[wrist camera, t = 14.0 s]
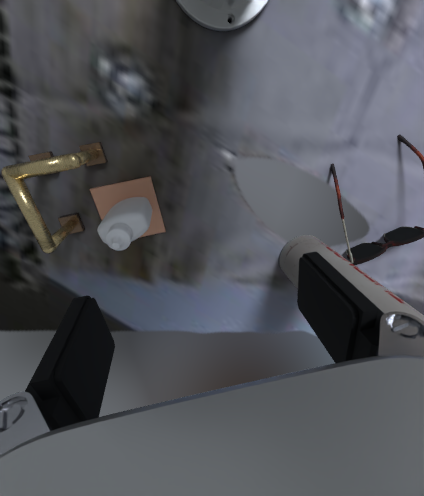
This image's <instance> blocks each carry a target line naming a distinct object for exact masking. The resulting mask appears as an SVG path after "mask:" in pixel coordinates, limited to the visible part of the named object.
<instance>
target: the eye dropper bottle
mask: <svg viewBox="0 0 424 496" xmlns="http://www.w3.org/2000/svg"><path fill="white" fill-rule="evenodd" d="M151 216H152V207H151V205H150V202H149V200H148V199H147V198H145V197H132V198H127V199H125V200H122V201H120V202H118V203H117V204H115V205H114V206H113V207H112V208H111V209H110V210H109V212H108V213H107V214H106V216H105V217H104V219H103V220H102V222H101V223H100V225H99V226H98V229H97V231H98V234H99V236H100V238H101V239H102V241H103V242H104V243H106V244H108V246H109V247H110V248H112V249H114V250H117V251H119V250H120V251H122V250H124V249H126V248H127V247H129V245H130V243H131V241H134V240H135V239H137V238H139V237H140V236H142V235H143V234H144V233H145V232H146V231H147V230H148V228H149V225H150V221H151Z"/></svg>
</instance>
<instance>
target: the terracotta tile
mask: <svg viewBox="0 0 424 496" xmlns="http://www.w3.org/2000/svg"><path fill="white" fill-rule="evenodd" d="M90 192H91V194H92V197H93V199H94V202H95V204H96V207H97V209H98V212H99V215H100V217H101V220H103V219H104V217H105V216H106V214H107V213H108V212H109V210H110V209H111V208H112V207H113V206H114V205H115V204H117V203H118V202H120V201H122V200H125V199H127V198H132V197H145V198H147V199H148V200H149V202H150V205H151V207H152V216H151V221H150V225H149V228H148V230H147V231H146V232H145V233H144V234H143V235H142V236H140V237H144V236H149V235H153V234H158V233H162V232H166V229H165V226H164V222H163V219H162V215H161V211H160V208H159V204H158V201H157V197H156V194H155V190H154V186H153V183H152V179H151V176H148V177H143V178H138V179H134V180H129V181H124V182H119V183H114V184H110V185H105V186H100V187H95V188H91V189H90ZM140 237H139V238H140Z"/></svg>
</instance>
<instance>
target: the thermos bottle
mask: <svg viewBox="0 0 424 496" xmlns="http://www.w3.org/2000/svg"><path fill="white" fill-rule="evenodd" d="M310 252H318V253H319V254H320V255H321V256H322V257H323V258H324V259H326V260H327V261H328V262H329V263H330V264H331V265H332V266H333V267H334V268H335V269H336V270H338V271H339V272H340V273H341V274H342V275H343V276H344V277H345V278H346V279H347V280H348V281H350V282H351V283H352V284H353V285H354V286H355V287H356V288H357V289H358V290H359V291H360V292H362V293H363V294H364V295H365V296H366V297H367V298H368V299H369V300H370V301H371V302H372V303H374V304H375V305H376V306H377V307H378V308H379V309H380V310H381V311H382V312H383V313H384V314H385V313H388V312H394V311H398V312H405V313H408V314H411V315H414V316H416V317H418V318H420V319H421V320H423V321H424V315H422V314H421V313H419V312H418V311H417V310H415V309H414V308H413V307H411V306H410V305H408V304H407V303H406V302H404V301H403V300H402V299H400V298H399V297H397V296H396V295H395V294H393V293H392V292H391V291H389V290H388V289H386V288H385V287H384V286H382V285H381V284H380V283H378V282H377V281H375V280H374V279H373V278H371V277H370V276H369V275H367V274H366V273H364V272H363V271H362V270H360V269H359V268H358V267H356V266H355V265H353V264H352V263H351V262H349V261H348V260H346V259H345V258H344V257H342V256H341V255H340V254H338V253H337V252H335V251H334V250H333V249H331V248H330V247H329V246H327V245H326V244H324V243H323V242H322V241H320V240H319V239H318V238H316V237H313V236H310V235H302V236H298V237H296V238H294V239H292V240H291V241H289V242H288V243H287V244H286V245H285V247H284V248H283V250H282V251H281V254H280V258H279V263H280V267H281V269H282V271H283V272H284V273H285V274H286V276H287V277H288V278H289V279H290V280H291V282H292V283H293V284H294V285H295V287H296V288H297V289H298V275H299V259H300V257H302V256H303V254H305V253H310Z"/></svg>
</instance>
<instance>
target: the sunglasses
mask: <svg viewBox="0 0 424 496" xmlns="http://www.w3.org/2000/svg"><path fill="white" fill-rule="evenodd" d="M397 137H398V140H399V141H401V142H403V143H404V144H406V145H407V146H408V147H409V148H410V149H411V150H412V151H413V152H414V153H415V154H416V155H417V156H418V157H419V158H420V160H421V162H422V164H423V169H424V157H423V155H422V154H421V153H420V152H419V151H418V150H417V149H416V148H415V147H414V146H413V145H412V144H410V143H409V142H408V141H407V140H406V139H405V138H404V137H402V136H401V135H398V136H397ZM331 171H332V174H333V177H334V182H335V187H336V192H337V197H338V205H339V210H340V215H341V219H342V223H343V227H344V232H345V237H346V242H347V246H348V250H346V253H347V258H348V259H349V260H350V262H351V263H352V264H353V265H357V264H361V263H364V262H367V261H369V260H372V259H374V258H376V257H378V256H380V255H381V254H383V253H384V252H385V251H386V249H387V248H389V247H392V246H400V245H404V244H408V243H411V242H414V241H417V240H419V239H421V238H423V237H424V228H421V227H417V226H415V227H414V228H412V227H400V228H397V229H395V230H393V231H390V232H388V233H386V234H384V240H385V242H386V243H385V244H382V243H377V242H372V243H362V244H360V245H357V246H355V247H353V248H350V247H349V242H348V238H347V233H346V227H345V223H344V214H343V209H342V203H341V195H340V190H339V185H338V180H337V176H336V171H335V167H334V164H331Z"/></svg>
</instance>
